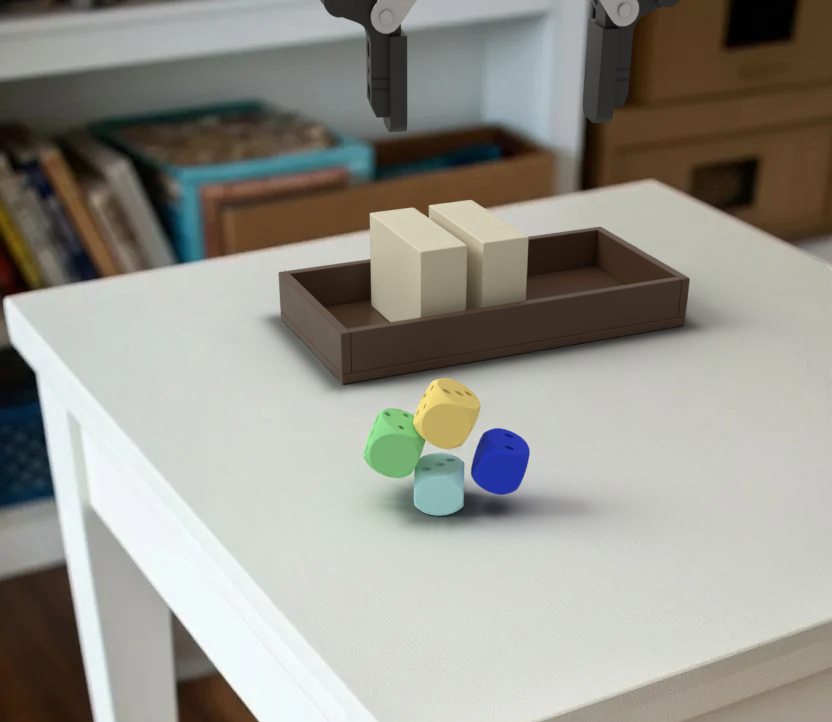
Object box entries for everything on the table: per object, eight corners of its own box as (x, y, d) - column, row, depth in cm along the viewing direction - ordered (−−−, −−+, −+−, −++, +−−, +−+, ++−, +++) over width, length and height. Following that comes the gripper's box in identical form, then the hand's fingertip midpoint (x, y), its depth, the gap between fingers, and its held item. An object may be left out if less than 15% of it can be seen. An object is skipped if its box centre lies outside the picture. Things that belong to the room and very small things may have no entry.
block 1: (413, 299, 90) (413, 206, 86) (465, 342, 84) (467, 245, 80) (370, 305, 89) (369, 212, 85) (420, 350, 83) (420, 251, 79)
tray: (597, 270, 96) (600, 226, 94) (685, 325, 88) (690, 278, 86) (280, 318, 88) (278, 271, 87) (342, 384, 80) (340, 333, 78)
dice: (526, 492, 69) (532, 372, 65) (527, 517, 67) (533, 395, 63) (366, 489, 69) (363, 369, 66) (362, 514, 67) (359, 392, 64)
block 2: (469, 290, 91) (471, 199, 88) (524, 332, 85) (529, 236, 82) (427, 296, 90) (428, 204, 87) (480, 340, 84) (483, 242, 81)
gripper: (674, -353, 52) (635, 96, 61) (297, -356, 50) (315, 108, 59) (746, -361, 46) (691, 140, 55) (320, -365, 44) (335, 155, 53)
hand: (496, 123), depth 57 cm, fingers open, 8 cm apart
